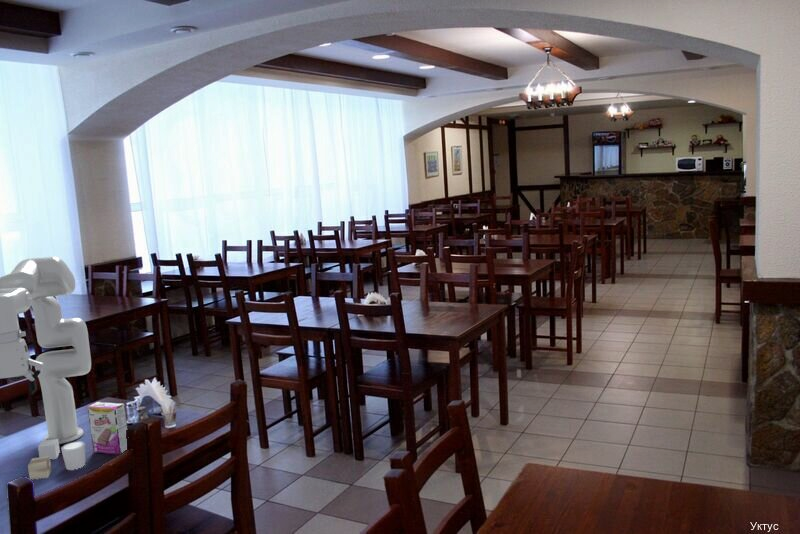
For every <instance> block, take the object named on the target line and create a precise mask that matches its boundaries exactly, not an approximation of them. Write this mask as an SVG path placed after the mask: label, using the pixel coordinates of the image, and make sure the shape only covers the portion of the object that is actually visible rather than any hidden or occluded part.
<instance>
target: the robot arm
mask: <svg viewBox="0 0 800 534" xmlns="http://www.w3.org/2000/svg"><path fill="white" fill-rule="evenodd" d="M75 288H76V279H75V275H74V274H73V272H72V271H71V269H70V268H69V266H68V265H67V264H66V262H65V261H64V260H63V259H61V258H60V257H57V256H48V257H47V256H45V257H32V258H26V259H23V260H21V261H20V262H18V264H16V266H15V267H14V268H13V270H11V272H10V273H9V274H6V275H2V276H0V380H1V379H7V378H9V379H10V378H15V377H23V376H24V377H25V378H26V379H27V380H28V381H27V385H28V392H29V395H30V396H33V395H34V394H35V393H36V392H37V390H38V387H37V380H36V379H37V378H38V380H39V381H38V382H39V385H40V388H41V393H42V403H43V410H44V415H45V421H46V422H45V423H46V428H47V429H46V430H47V434H46V435H45V436H44V437H43V441H47V440H53V439H58V442H59V445H61V444H68V443H71V442H74V441H76V440H78V439H80V438H81V437H82V436H83V435H84V430H83V428H81V427H79V426H78V420H77V412H76V403H75V398H74V396H75V395H74V390H73V386H72V384H71V383H70V382H69V381H68V380H67V379H66V378H70V377H78V376H79V377H80V376H84V375H87V374H89V372H91V369H92V357H91V349H90V341H89V332H88V327H87V324H86V322H85V321H84V320H83V319H82V318H79V317H72V318H63V314H62V313H63V312H62V307H61V303H60V302H59V301H58V299H56V297H58V296H59V297H60V296H61V297H62V296H69V295H71V294H73V293H74V291H75ZM30 308H32V311H33V318H34V326H35V327H34V328H35V334H36V339H37V344H38V345H39V346H40V347H41V348H45V349H50V348H61V347H70V346H72V347H73V348H71V349H61V350H50V351H46V352H42V353H41V354H39V355H38V356H36V358H35V359H32V358H31V355H30V352H29V348H28V345H27V343H26V340H25V339H24V338H22V337H26V336H27V334H26V331H25V330H24V331H23V330H21V328H20V325H19V317H18V315H21V314H23V313H25V312H27V311H28V310H30ZM33 367H34V369H35V372H33V371H32V368H33Z"/></svg>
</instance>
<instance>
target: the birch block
mask: <svg viewBox="0 0 800 534" xmlns="http://www.w3.org/2000/svg"><path fill="white" fill-rule="evenodd" d="M51 464H52V463H51V460H50V456H46V457H34V458H33V457H32V458H31V460H30V461H29V462H28V464H27V470H28V475H29V480H30V479H32V480H31V481H34V480H33V479H36V480H42V479H48V478H49V476H50V474H51V473H52V465H51ZM39 478H40V479H39ZM41 478H42V479H41Z"/></svg>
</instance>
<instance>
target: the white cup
mask: <svg viewBox="0 0 800 534" xmlns="http://www.w3.org/2000/svg"><path fill="white" fill-rule="evenodd" d="M60 449H61V450H60V451H61V454H62V458H63V461H64V465H65V469H66V470H67V471H75V470H74V469H76V470H79V469H78V468H80V469H82V468H83V466H84V465H85V466H86V464H85V463H86V443H85V442H84V441H70V442H67V443H65V444H64V445H63V446H61V447H60ZM85 466H84V467H85ZM81 467H82V468H81Z"/></svg>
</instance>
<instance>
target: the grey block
mask: <svg viewBox="0 0 800 534" xmlns="http://www.w3.org/2000/svg"><path fill="white" fill-rule="evenodd" d="M60 449H61V448H60V444H59V442H58V439H53V440H47V441H44V440H42V441H41V442H40V443H39V445H38V446H37V450H38V456H39V457H46V456H50V459H52V460H57V459H58V457H59V455H60V454H59V453H61V450H60ZM39 457H38V458H39Z"/></svg>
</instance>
